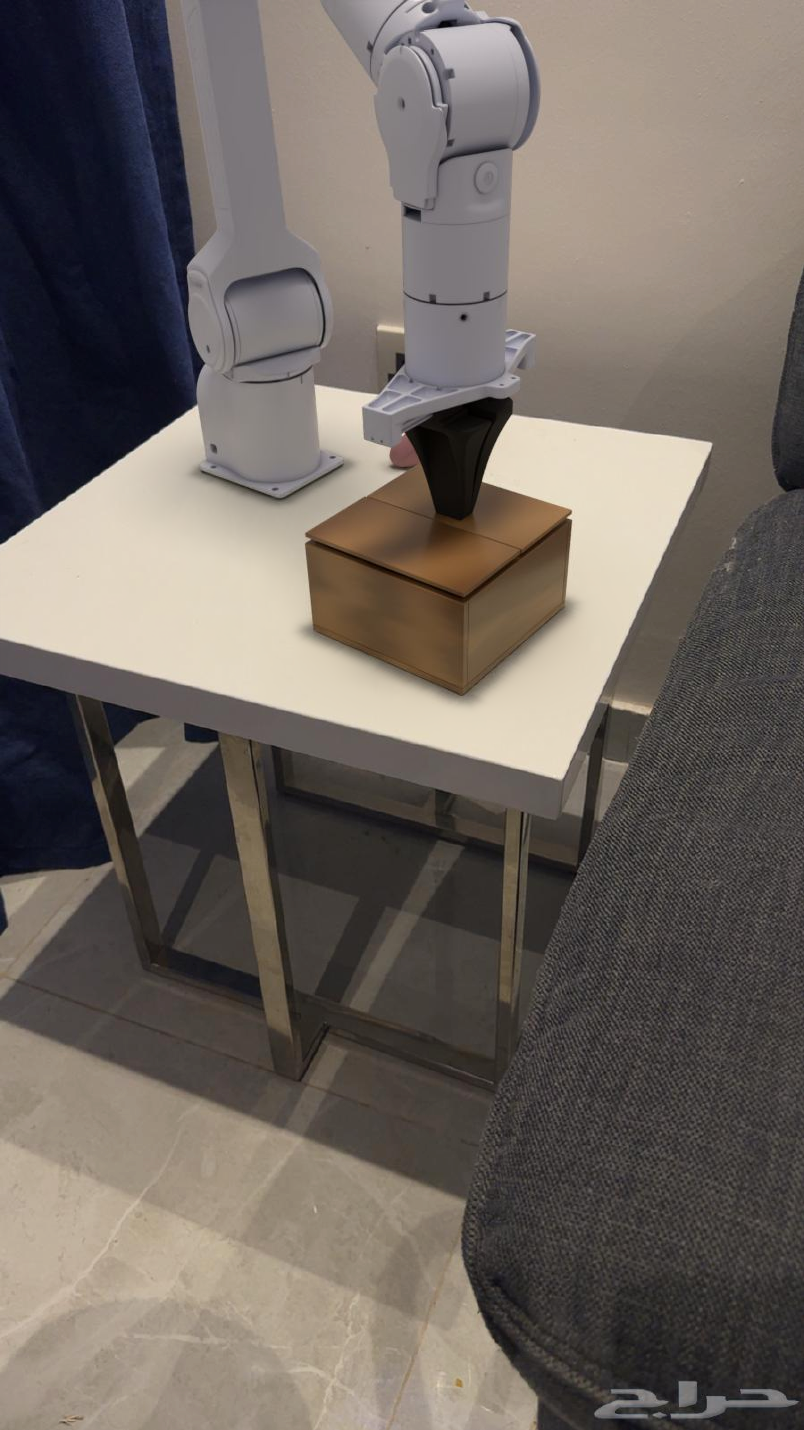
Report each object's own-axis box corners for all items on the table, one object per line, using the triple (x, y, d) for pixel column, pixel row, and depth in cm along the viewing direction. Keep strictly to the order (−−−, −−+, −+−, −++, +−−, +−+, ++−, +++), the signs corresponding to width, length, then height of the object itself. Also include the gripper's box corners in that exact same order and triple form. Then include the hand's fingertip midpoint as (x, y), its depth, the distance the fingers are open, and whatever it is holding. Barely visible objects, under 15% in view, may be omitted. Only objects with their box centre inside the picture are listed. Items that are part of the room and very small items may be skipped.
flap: (366, 500, 67) (366, 495, 67) (420, 466, 71) (420, 462, 70) (521, 553, 61) (521, 549, 61) (571, 514, 65) (572, 509, 65)
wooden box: (312, 629, 68) (303, 532, 63) (422, 553, 75) (420, 461, 71) (462, 695, 62) (463, 594, 57) (565, 606, 69) (573, 509, 65)
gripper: (436, 342, 50) (437, 581, 59) (586, 266, 59) (568, 485, 67) (326, 315, 53) (342, 545, 62) (483, 248, 62) (479, 458, 71)
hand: (454, 512), depth 65 cm, fingers closed
